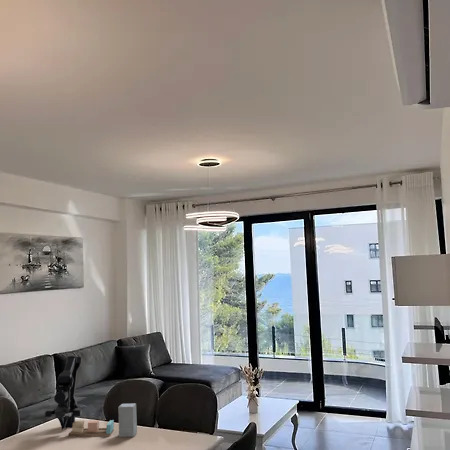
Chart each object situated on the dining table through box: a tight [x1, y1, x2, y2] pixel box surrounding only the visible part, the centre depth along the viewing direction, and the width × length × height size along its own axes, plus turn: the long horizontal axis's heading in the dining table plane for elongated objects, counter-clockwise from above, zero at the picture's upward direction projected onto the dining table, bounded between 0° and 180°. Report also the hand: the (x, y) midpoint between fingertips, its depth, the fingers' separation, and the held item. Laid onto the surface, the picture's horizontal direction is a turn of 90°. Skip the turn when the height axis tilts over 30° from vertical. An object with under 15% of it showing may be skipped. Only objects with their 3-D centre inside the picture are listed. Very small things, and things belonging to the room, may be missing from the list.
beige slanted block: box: [71, 420, 85, 432], centre depth 248 cm, size 4×5×5 cm
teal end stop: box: [106, 419, 115, 434], centre depth 249 cm, size 9×2×4 cm, turn 2°
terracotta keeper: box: [87, 419, 100, 432], centre depth 249 cm, size 4×5×5 cm
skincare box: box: [117, 402, 138, 438], centre depth 246 cm, size 8×7×16 cm
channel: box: [67, 427, 115, 438], centre depth 248 cm, size 9×22×2 cm, turn 92°
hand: (63, 429), depth 248 cm, fingers closed
